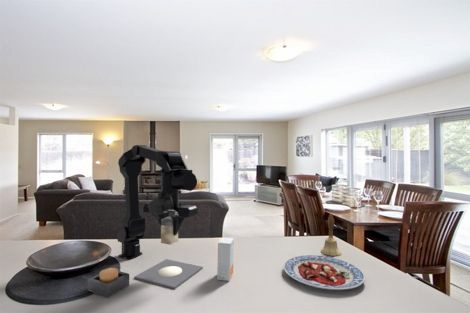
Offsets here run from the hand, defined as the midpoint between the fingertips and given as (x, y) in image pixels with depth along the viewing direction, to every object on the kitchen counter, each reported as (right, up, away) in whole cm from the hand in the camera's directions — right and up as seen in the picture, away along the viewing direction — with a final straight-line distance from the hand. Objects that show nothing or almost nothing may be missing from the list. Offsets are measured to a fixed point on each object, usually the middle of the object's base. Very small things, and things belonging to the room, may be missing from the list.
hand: (169, 234), depth 89 cm
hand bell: (+62, -14, +22) cm, 67 cm away
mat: (0, -13, 0) cm, 13 cm away
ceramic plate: (+52, -14, 0) cm, 53 cm away
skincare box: (+19, -14, -2) cm, 23 cm away
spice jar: (0, -3, 0) cm, 3 cm away
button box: (-16, -13, -10) cm, 23 cm away
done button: (-16, -11, -10) cm, 21 cm away
